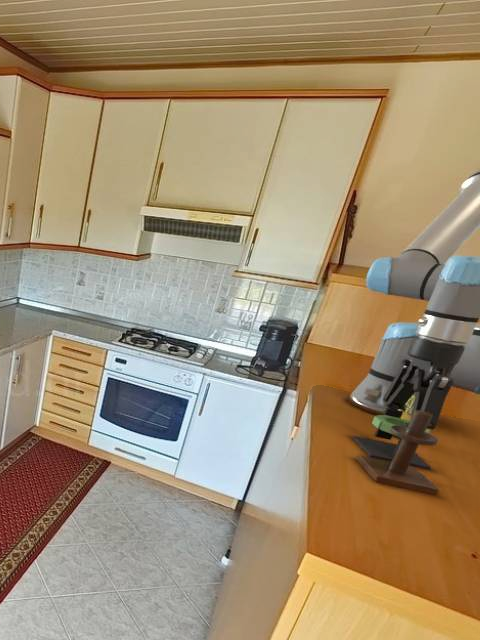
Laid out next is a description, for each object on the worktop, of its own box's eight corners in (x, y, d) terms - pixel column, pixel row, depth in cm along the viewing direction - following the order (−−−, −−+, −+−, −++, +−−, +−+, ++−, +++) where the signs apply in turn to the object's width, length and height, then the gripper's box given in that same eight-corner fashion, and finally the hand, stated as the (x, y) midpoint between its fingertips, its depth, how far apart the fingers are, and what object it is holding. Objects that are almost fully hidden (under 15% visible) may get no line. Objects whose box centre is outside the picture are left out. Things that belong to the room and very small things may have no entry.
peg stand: (356, 460, 95) (382, 399, 91) (411, 472, 93) (441, 409, 88) (375, 481, 87) (405, 416, 83) (436, 495, 85) (470, 428, 80)
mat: (352, 437, 107) (352, 435, 106) (406, 448, 104) (407, 446, 103) (370, 456, 98) (371, 454, 97) (430, 469, 95) (431, 467, 95)
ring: (366, 418, 104) (369, 411, 103) (413, 428, 101) (416, 421, 101) (383, 433, 96) (386, 426, 96) (434, 443, 94) (438, 436, 93)
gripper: (391, 326, 103) (351, 423, 111) (446, 348, 84) (392, 464, 92) (434, 332, 101) (390, 431, 108) (500, 357, 82) (441, 474, 90)
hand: (391, 446), depth 100 cm, fingers closed on ring, 8 cm apart
